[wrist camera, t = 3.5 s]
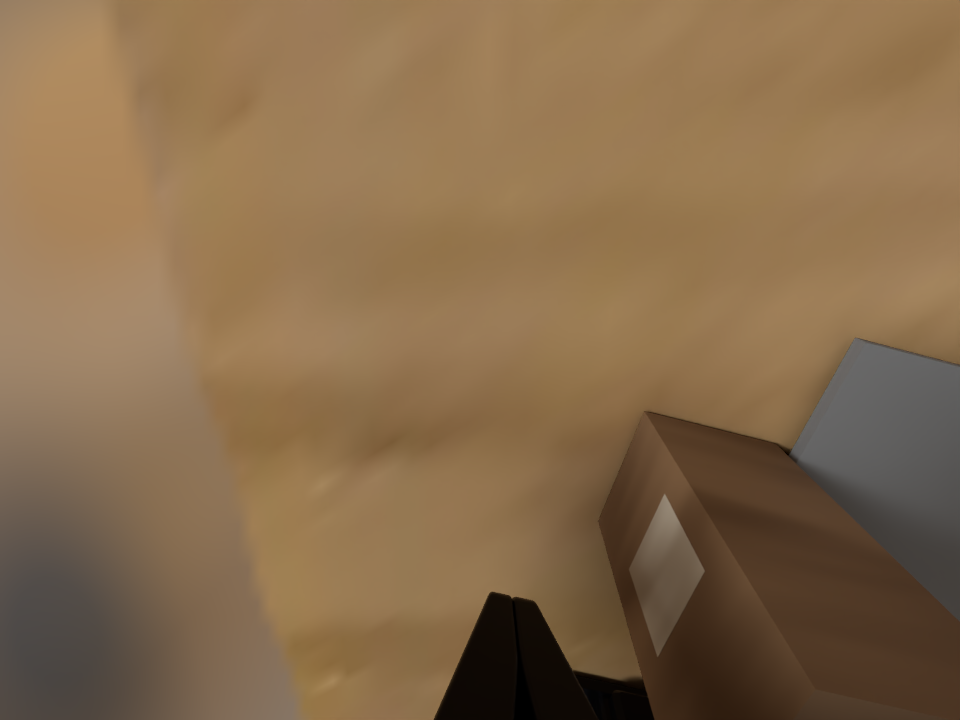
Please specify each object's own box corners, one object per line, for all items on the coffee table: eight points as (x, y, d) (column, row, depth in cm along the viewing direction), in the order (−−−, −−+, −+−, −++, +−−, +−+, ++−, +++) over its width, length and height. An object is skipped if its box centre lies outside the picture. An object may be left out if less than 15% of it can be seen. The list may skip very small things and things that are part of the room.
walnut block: (717, 549, 15) (924, 902, 8) (597, 520, 15) (692, 854, 8) (775, 443, 14) (1095, 752, 6) (644, 411, 14) (814, 689, 6)
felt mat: (904, 679, 17) (913, 691, 17) (689, 630, 17) (694, 641, 16) (1128, 409, 13) (1146, 415, 13) (855, 337, 13) (865, 342, 12)
